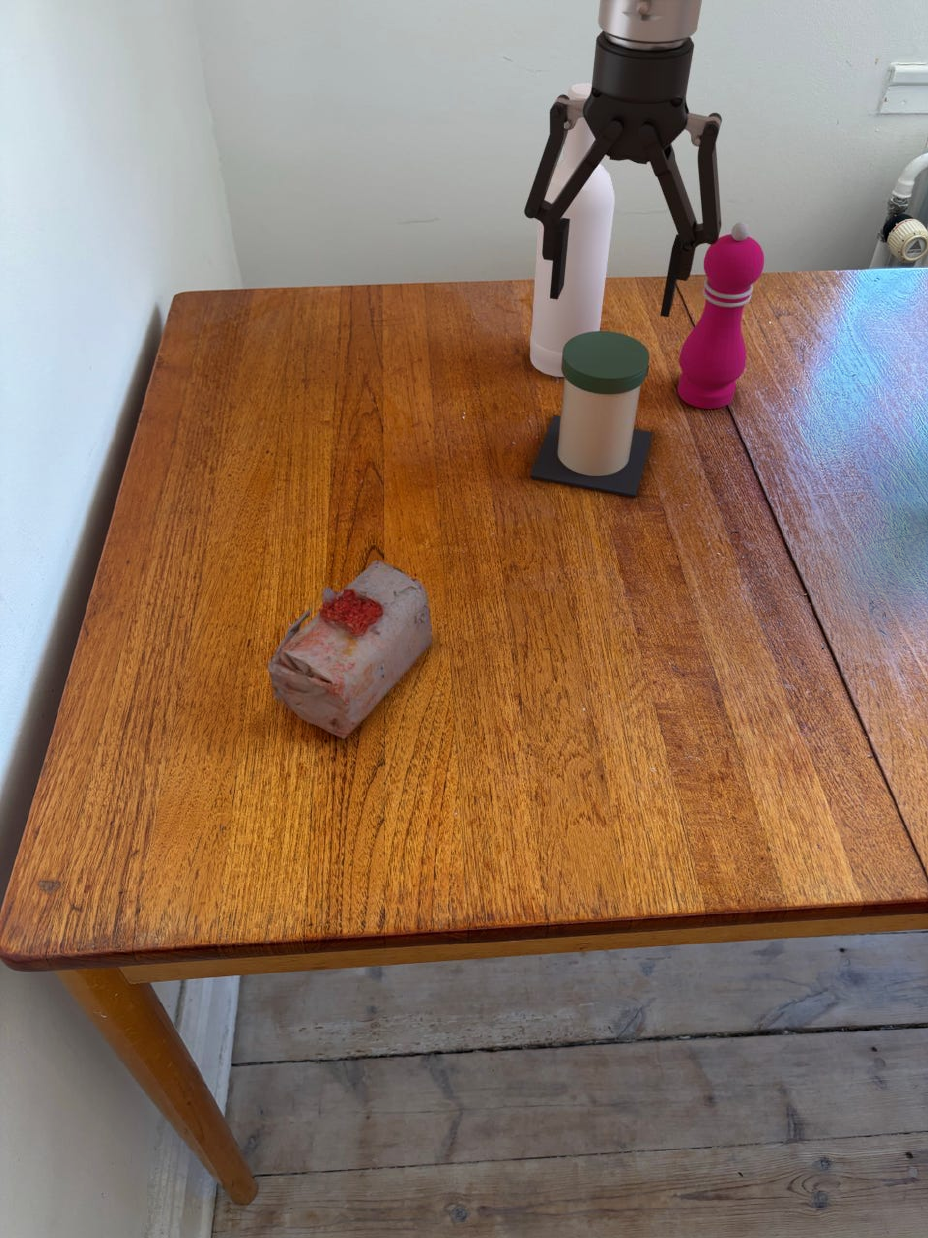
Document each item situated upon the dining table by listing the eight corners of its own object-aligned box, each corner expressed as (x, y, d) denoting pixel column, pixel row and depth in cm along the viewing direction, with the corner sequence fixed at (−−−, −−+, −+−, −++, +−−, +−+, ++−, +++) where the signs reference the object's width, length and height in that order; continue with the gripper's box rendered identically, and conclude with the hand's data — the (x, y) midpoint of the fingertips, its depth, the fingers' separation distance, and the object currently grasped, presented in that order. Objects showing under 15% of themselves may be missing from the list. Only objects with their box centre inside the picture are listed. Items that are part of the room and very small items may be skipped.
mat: (652, 435, 109) (653, 432, 109) (635, 498, 102) (635, 495, 102) (553, 417, 111) (553, 414, 111) (529, 478, 104) (529, 474, 104)
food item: (346, 757, 80) (335, 677, 73) (269, 713, 83) (251, 632, 76) (441, 649, 88) (440, 567, 81) (368, 612, 91) (360, 530, 84)
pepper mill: (679, 412, 112) (713, 240, 97) (668, 375, 117) (699, 206, 102) (743, 411, 112) (787, 239, 98) (729, 375, 117) (769, 206, 103)
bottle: (515, 358, 119) (528, 86, 97) (561, 334, 123) (584, 67, 101) (563, 386, 115) (589, 111, 93) (610, 361, 119) (645, 90, 97)
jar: (635, 438, 108) (650, 344, 100) (622, 482, 103) (637, 386, 95) (565, 426, 109) (575, 332, 101) (550, 468, 104) (558, 372, 96)
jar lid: (653, 354, 101) (656, 338, 99) (640, 401, 95) (642, 384, 94) (571, 340, 102) (572, 325, 101) (552, 386, 97) (554, 369, 96)
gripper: (493, 33, 77) (484, 301, 93) (791, 67, 73) (727, 341, 89) (517, 4, 82) (505, 263, 98) (797, 33, 78) (736, 299, 94)
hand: (611, 300), depth 94 cm, fingers open, 10 cm apart
